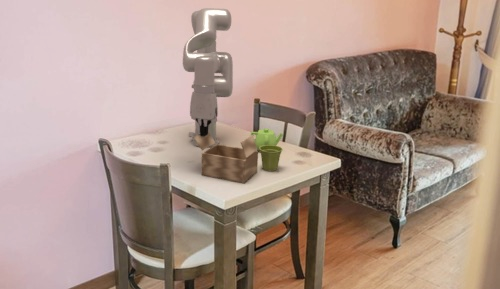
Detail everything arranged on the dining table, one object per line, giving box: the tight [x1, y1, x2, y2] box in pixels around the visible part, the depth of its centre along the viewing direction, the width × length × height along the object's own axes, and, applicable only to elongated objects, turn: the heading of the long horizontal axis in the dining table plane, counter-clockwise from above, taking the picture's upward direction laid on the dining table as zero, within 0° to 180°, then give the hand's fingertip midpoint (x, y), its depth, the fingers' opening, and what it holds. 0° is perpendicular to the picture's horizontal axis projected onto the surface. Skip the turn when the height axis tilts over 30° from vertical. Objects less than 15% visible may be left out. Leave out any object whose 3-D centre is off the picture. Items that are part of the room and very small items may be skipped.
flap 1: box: [194, 132, 215, 151], centre depth 192 cm, size 6×11×1 cm
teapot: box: [250, 128, 284, 153], centre depth 221 cm, size 12×12×10 cm
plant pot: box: [259, 145, 283, 172], centre depth 198 cm, size 9×9×9 cm
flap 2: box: [240, 134, 258, 158], centre depth 186 cm, size 6×11×1 cm
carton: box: [201, 143, 259, 185], centre depth 191 cm, size 18×13×9 cm
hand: (204, 135), depth 192 cm, fingers closed
